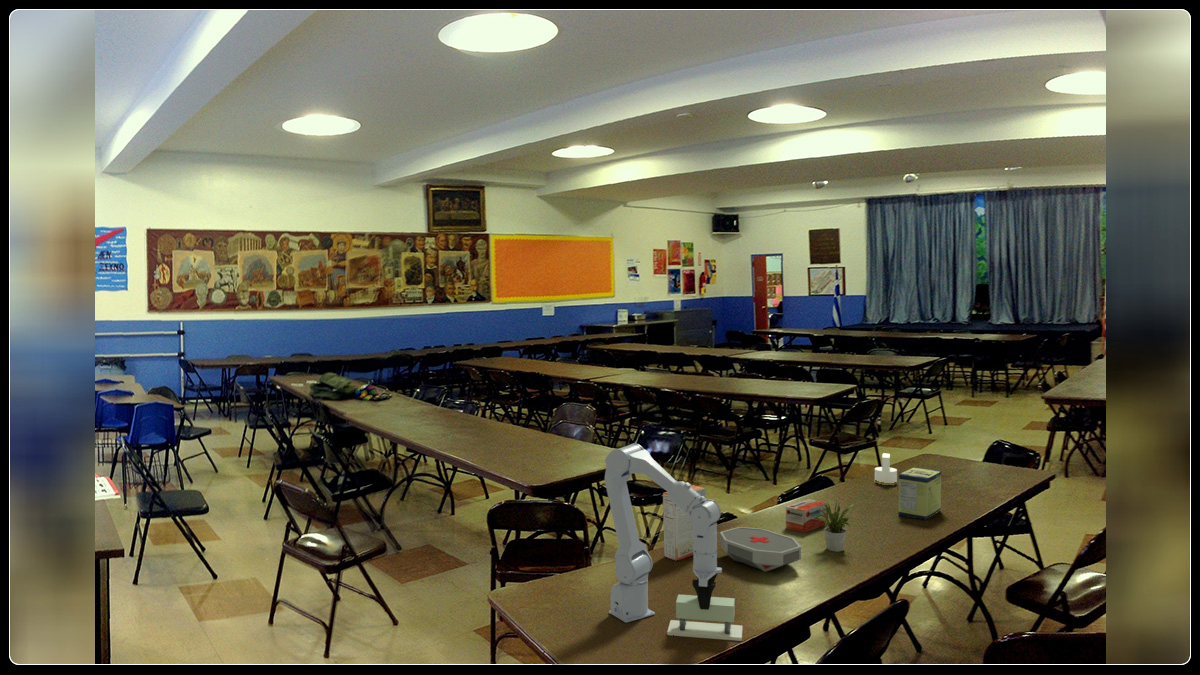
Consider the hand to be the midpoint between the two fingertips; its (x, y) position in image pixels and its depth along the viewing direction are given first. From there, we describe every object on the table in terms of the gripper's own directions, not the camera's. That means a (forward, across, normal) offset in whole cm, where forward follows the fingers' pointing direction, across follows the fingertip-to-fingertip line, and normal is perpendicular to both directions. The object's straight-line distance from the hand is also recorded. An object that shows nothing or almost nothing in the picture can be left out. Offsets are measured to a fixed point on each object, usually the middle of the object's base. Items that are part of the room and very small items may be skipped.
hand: (705, 604), depth 196 cm
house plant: (+7, +69, -35) cm, 78 cm away
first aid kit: (+7, +52, -13) cm, 54 cm away
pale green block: (+3, 0, 0) cm, 3 cm away
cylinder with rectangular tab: (+7, +161, -65) cm, 174 cm away
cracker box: (+7, +56, +11) cm, 57 cm away
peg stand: (+7, 0, 0) cm, 7 cm away
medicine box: (+7, +93, -29) cm, 98 cm away
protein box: (+7, +116, -71) cm, 136 cm away
